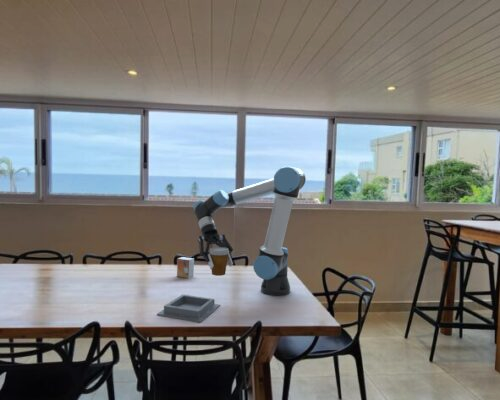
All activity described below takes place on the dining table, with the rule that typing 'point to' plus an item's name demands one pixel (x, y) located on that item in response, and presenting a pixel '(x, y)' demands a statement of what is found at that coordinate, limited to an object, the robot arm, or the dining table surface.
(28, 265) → the dining table surface
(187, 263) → the small box
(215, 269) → the disposable coffee cup
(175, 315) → the tray
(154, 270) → the dining table surface
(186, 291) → the dining table surface
